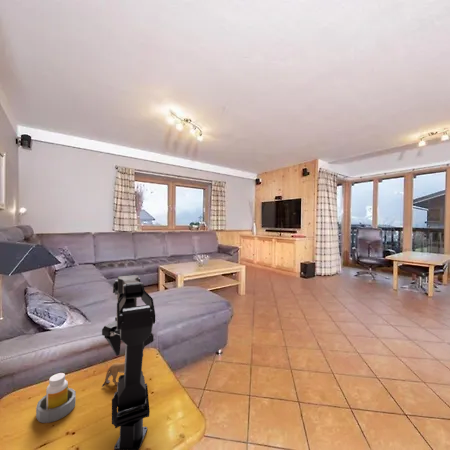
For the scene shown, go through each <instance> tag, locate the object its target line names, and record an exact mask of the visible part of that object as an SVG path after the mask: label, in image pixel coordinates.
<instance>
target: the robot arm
mask: <svg viewBox="0 0 450 450" xmlns="http://www.w3.org/2000/svg"><path fill="white" fill-rule="evenodd" d="M112 293H113V294H114V295H116V299H117V303H116V312H115V315H116V317H115V318H114V321H113V322H111V323H108V324H106V325H104V326H103V328H102V329H101V335H102V336H104V339H105V340H106V342H107V343H108V344H109V346H110V348H111V349H112V351H113V353H114V354H115V356H116V357H118V356H120V353H121V342H122V343H124V345H125V346H124V347H125V351H124V362H125V367H124V373H123V374H122V375H121V374H120V375H119V376H118V377H117V378H118V379H117V382H118V385H116V386H117V387H116V391H115V392H114V395H113V397H112V399H111V424H112V425H113V426H114V429H118V428H119V437H118V439H117V441H116V443H115V445H114V448H113V449H114V450H140V449H141V446H142V445H143V441H144V438H145V436H146V434H147V432H148V427H147V426H144V419H145V418H149V417H150V413H151V411H150V402H149V401H150V400H149V389H148V383H146V382H145V376H144V372H143V370H142V369H143V359H144V350H145V347H146V346H148V345H150V344H151V343H152V342H154V341H155V340H154V335H155V334H153V333H152V332H153V326H154V325H155V324H156V311H155V303H154V298H152V297H151V295H150V294H148V292H147V291H146V289H145V284H144V282H141V277H139V275H138V274H133V275H132V274H131V275H122V276H121V275H120V276H117V279H116V280H114V283H113V285H112ZM139 298H141V301H142V302H143V303H144V304H145V305H138V303H137V302H138V301H137V300H138V299H139ZM137 305H138V306H137Z"/></svg>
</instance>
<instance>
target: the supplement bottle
mask: <svg viewBox="0 0 450 450" xmlns="http://www.w3.org/2000/svg"><path fill="white" fill-rule="evenodd" d="M48 380H49V381H48V383H49V384H48V385H47V386H46V392H45V395H46V410H51V409H54V408H58V407H60V406H62V405H63V404H65V403H67V402H68V388H69V384H68V380H66V374H65V373H63V372H59V373H55V374H54V375H51V376H50V377H49V379H48Z"/></svg>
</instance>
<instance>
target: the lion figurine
mask: <svg viewBox="0 0 450 450" xmlns="http://www.w3.org/2000/svg"><path fill="white" fill-rule="evenodd" d="M124 367H125V361H123V362H114V363H112V364H111V365H110V366H109V367H108V369H107V371H106V373H105V374H106V375H105V380H104V382H103V384H102V386H101V387H105V385H106V384H109V383H110V382H111V380H110V377H111V376H112V383H113V384H114V385H115V386H117V385H118V381H117V380H116V379H117V378H118V375H119V373H121V374H124Z"/></svg>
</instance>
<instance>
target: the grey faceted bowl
mask: <svg viewBox="0 0 450 450" xmlns="http://www.w3.org/2000/svg"><path fill="white" fill-rule="evenodd" d="M76 395H77V393H76V390H75V389H74V388H70V387H68V402H67V403H65V404H63V405H62V406H60V407H58V408H54V409H51V410H46V394H45V395H44V396H43V397H42V398H40V400H38V402H37V404H36V407H35V409H36V410H35V418H36V419H37V421H38V422H39V423H41V424H49V423H53V422H56V421H59V420H62V419H63V418H65V417H66V416H68V415H69V414H70V413H71V412H72V411H73V410H74V408H75V407H76V399H77V397H76Z"/></svg>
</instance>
